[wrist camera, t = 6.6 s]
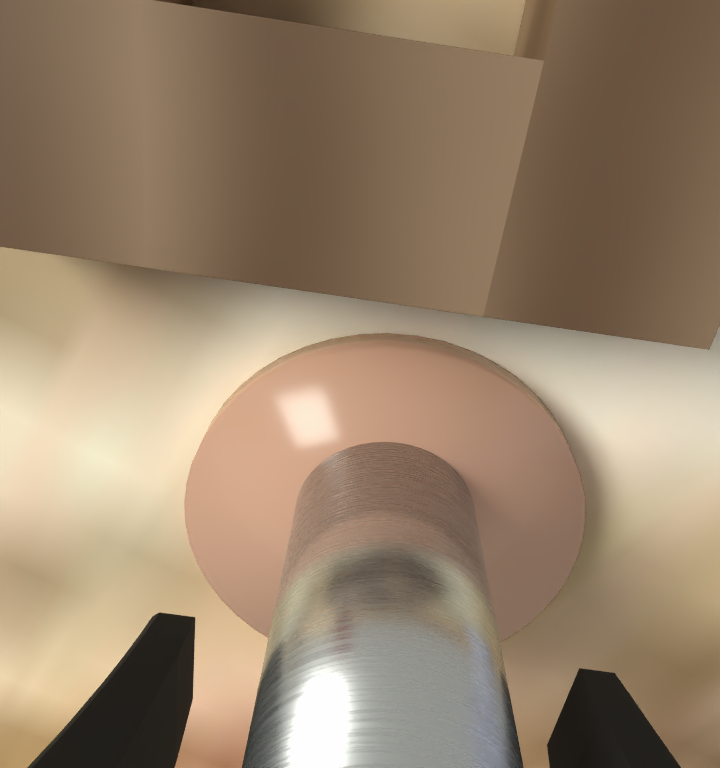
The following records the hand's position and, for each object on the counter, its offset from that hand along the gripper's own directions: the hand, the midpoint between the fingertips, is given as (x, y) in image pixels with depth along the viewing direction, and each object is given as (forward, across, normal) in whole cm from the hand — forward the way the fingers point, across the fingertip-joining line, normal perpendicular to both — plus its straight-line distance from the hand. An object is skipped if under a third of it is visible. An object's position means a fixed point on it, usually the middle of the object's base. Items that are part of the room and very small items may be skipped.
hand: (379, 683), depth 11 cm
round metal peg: (+4, 0, 0) cm, 4 cm away
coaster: (+5, 0, 0) cm, 5 cm away
